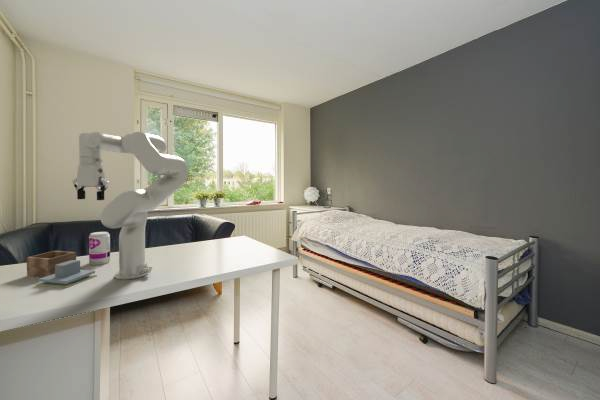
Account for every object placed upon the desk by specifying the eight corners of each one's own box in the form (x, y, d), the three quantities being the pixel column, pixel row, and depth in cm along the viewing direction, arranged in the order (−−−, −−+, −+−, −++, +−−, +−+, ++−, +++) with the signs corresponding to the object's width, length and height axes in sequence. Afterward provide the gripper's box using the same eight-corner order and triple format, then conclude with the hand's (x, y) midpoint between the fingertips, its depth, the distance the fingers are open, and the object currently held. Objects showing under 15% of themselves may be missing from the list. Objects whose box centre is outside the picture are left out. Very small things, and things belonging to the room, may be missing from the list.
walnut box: (76, 269, 116) (76, 252, 115) (50, 278, 105) (49, 259, 105) (55, 267, 117) (54, 250, 117) (27, 276, 106) (26, 257, 106)
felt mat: (96, 275, 109) (96, 275, 109) (65, 288, 96) (65, 287, 96) (70, 273, 111) (70, 272, 111) (35, 285, 98) (35, 284, 98)
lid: (94, 275, 109) (94, 259, 108) (66, 286, 97) (65, 268, 96) (69, 273, 110) (69, 257, 110) (38, 283, 98) (38, 266, 98)
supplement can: (98, 266, 121) (98, 235, 120) (84, 264, 123) (84, 233, 122) (114, 261, 129) (114, 232, 128) (101, 259, 131) (100, 231, 130)
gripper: (114, 162, 116) (115, 200, 117) (81, 161, 118) (82, 198, 119) (100, 161, 109) (100, 201, 110) (64, 160, 111) (65, 199, 112)
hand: (91, 199), depth 115 cm, fingers open, 9 cm apart
